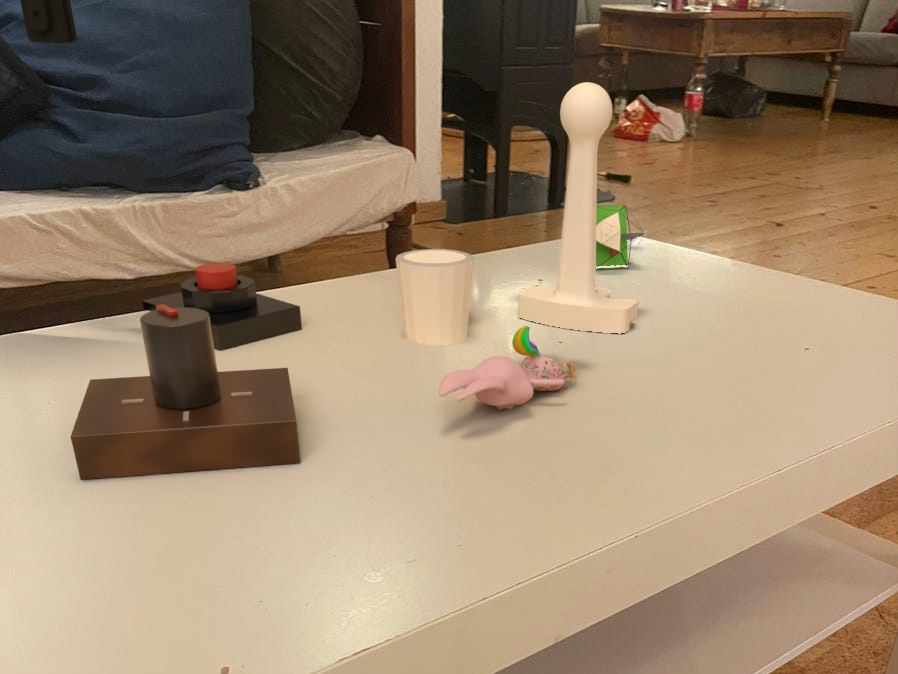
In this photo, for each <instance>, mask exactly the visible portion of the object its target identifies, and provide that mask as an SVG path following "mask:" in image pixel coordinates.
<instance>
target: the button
mask: <svg viewBox="0 0 898 674" xmlns="http://www.w3.org/2000/svg"><path fill="white" fill-rule="evenodd" d="M194 271H195V277H196V279H197V286H198V287H199V288H204V289H224V288H230V287H235V286H238V280H237V275H238V274H237V273H238V272H237V266H236V265H235V264H231V263H228V262H227V263H225V262H211V263H205V264H200V265H198V266H196V267H195V268H194Z"/></svg>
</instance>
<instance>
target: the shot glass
mask: <svg viewBox="0 0 898 674" xmlns="http://www.w3.org/2000/svg"><path fill="white" fill-rule="evenodd" d="M474 258H475V256H473V255H472V254H470V253H469V252H465V251H461V250H455V249H445V248H441V249H440V248H428V249H427V248H426V249H415V250H410V251H405V252H402V253H399V254H397V255H396V257H395V267H396V273H397V281H398V289H399V298H400V307H401V313H402V320H403V329H404V336H405V338H406V339H407V341H409V342H411V343H414V344H418V345H425V346H446V345H453V344H457V343H461V342H463V341H465V340H466V339H467V337H468V328H469V327H468V326H469V315H470V305H471V304H470V303H471V293H472V292H471V291H472V282H473V270H474V260H475V259H474Z"/></svg>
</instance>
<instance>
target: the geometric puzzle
mask: <svg viewBox="0 0 898 674" xmlns="http://www.w3.org/2000/svg"><path fill="white" fill-rule="evenodd" d="M629 212H630V214H631V216H633V218H634V220H635V222H636V223H637V225H638V226H639V227H638V226H637V225H636V224H635V223H633V222H632V221H631V220H629V216H628V215H629V213H628V207H627V204H619V205H618V204H617V205H615V204H614V205H597V212H596V266H597V267H598V266H605V265H606V266H611V265H614V266H616V265H620V266H621V265H626V266H627V265H629V266H630V264H631V262H632V260H633V259H631V261H630V257H631V248H632V243H634V242H635V241H636V240H637V239H638V238H640V237H641V238H640V241H639V242H638V244H640V243H641V242H642V241H641V240H642V238H643V237H642V236H643V235H644V234H645V233H646V231H644V230H643V229H642V228H641V226H640V224H639V223H638V221H637V220H636V219H635V217H634V215H633V214H632V212H631V211H629ZM630 223H631V224H633V225H634V226H635V227H636V228H637V229H639V230H640V231H642V232H631V228H630ZM627 224H628V227H627ZM628 230H629V231H628ZM628 232H629V233H628ZM628 246H629V254H628ZM637 250H638V248H636V249H635V251H634V254H633V255H635V253H636V252H637Z"/></svg>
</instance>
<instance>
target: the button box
mask: <svg viewBox="0 0 898 674" xmlns="http://www.w3.org/2000/svg"><path fill="white" fill-rule="evenodd" d="M237 280H238V286H235V287H230V288H224V289H204V288H199V287H198V286H197V279H196V276H195V277H192V278H189V279H186V280H185V281H182V282H181V283H180V290H181V292H176V293H171V294H166V295H162V296H157V297H153V298H147V299H143V300H141V303H142V309H143V310H145V311H147V312H152V311H155V310H157V309H156V305H162V304H164V305H166V306H168V307H170V308H196V309H201V310H204V311H206V312H208V313H209V315H210V322H211V329H212V336H213V343H214V350H215V351H216V350H217V351H218V352H222V351H226V350H230V349H234V348H238V347H242V346H245V345H249V344H252V343H257V342H261V341H264V340H269V339H272V338H276V337H279V336H284V335H287V334H291V333H295V332H300V331H302V330H303V326H302V315H301V305H297V304H293V303H291V302H287V301H284V300H281V299H277V298H274V297H270V296H267V295H263V294H260V293H257V291H256V283H255V281H254V279H253V278H251V277H248V276H244V275H238V274H237Z"/></svg>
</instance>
